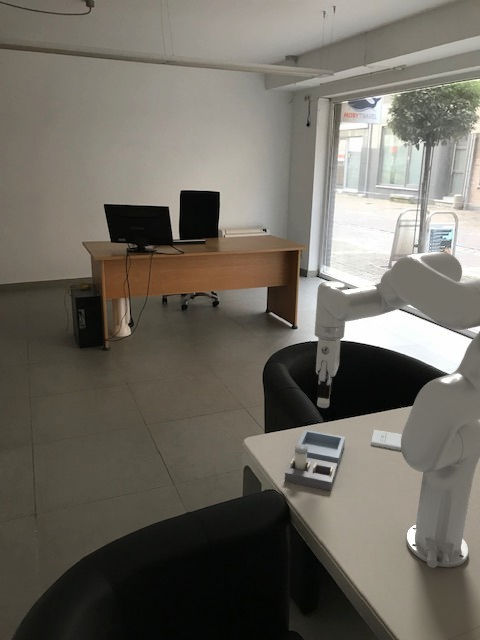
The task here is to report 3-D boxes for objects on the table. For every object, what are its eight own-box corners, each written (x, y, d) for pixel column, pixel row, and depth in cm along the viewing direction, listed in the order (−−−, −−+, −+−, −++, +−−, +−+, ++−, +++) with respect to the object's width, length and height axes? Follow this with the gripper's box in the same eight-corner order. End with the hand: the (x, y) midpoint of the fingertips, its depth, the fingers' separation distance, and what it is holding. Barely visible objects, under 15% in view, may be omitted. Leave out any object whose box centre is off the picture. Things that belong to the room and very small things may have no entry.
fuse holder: (330, 490, 133) (331, 478, 132) (284, 481, 136) (285, 469, 135) (336, 471, 141) (337, 460, 140) (292, 462, 145) (293, 451, 144)
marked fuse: (328, 408, 140) (330, 381, 137) (316, 406, 141) (318, 379, 138) (329, 403, 143) (332, 376, 140) (318, 401, 144) (320, 374, 141)
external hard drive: (414, 454, 151) (370, 446, 155) (415, 441, 158) (373, 433, 162) (415, 449, 150) (371, 441, 154) (416, 436, 157) (374, 428, 161)
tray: (337, 467, 143) (338, 458, 142) (294, 459, 146) (295, 449, 145) (344, 446, 154) (345, 436, 153) (304, 438, 157) (304, 429, 156)
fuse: (304, 478, 138) (306, 451, 135) (292, 476, 139) (294, 449, 136) (307, 472, 141) (308, 445, 138) (295, 469, 142) (296, 443, 139)
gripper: (339, 342, 127) (333, 410, 132) (348, 322, 141) (342, 384, 147) (309, 338, 129) (304, 405, 134) (320, 319, 144) (315, 380, 149)
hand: (324, 394), depth 141 cm, fingers closed on marked fuse, 3 cm apart
